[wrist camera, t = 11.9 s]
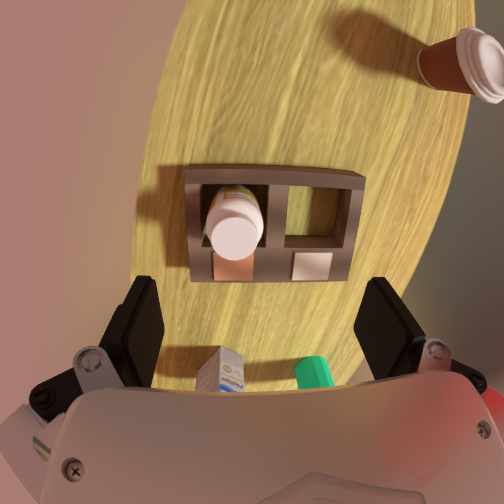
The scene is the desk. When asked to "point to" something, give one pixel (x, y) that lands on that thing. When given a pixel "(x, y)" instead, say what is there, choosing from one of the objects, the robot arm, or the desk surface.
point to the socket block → (275, 226)
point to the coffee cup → (465, 65)
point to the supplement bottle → (234, 222)
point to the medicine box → (221, 372)
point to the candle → (313, 373)
